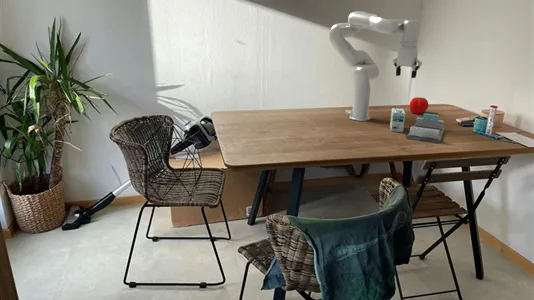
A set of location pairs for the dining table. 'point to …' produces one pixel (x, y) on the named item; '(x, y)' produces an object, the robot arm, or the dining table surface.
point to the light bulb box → (397, 120)
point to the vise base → (425, 133)
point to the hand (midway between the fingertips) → (405, 76)
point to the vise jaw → (430, 121)
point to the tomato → (418, 105)
